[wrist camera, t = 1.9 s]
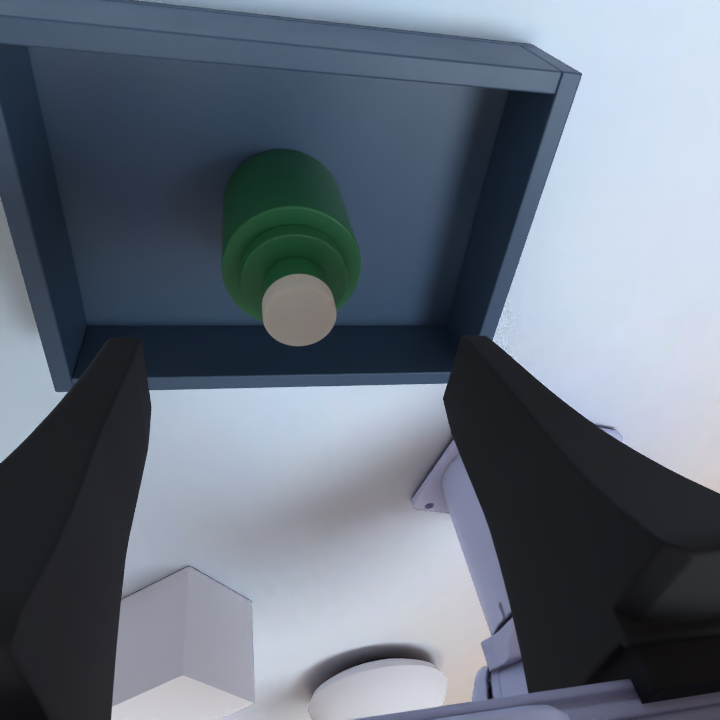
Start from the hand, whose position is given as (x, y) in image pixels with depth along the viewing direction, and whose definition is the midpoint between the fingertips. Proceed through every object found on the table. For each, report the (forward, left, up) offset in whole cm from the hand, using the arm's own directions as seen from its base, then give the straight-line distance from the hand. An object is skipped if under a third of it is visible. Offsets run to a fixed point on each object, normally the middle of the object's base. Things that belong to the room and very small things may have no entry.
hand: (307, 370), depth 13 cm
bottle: (0, 0, -9) cm, 9 cm away
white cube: (-2, +27, -9) cm, 29 cm away
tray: (0, 0, -9) cm, 9 cm away
